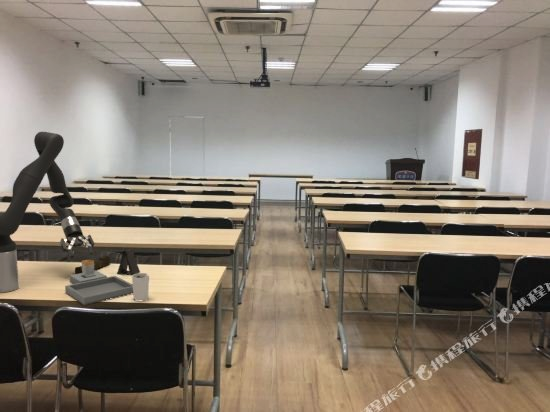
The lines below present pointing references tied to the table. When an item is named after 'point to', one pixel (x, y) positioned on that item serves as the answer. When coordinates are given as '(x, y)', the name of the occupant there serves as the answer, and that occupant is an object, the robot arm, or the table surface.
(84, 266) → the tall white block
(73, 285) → the tray
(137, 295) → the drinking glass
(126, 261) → the black a-frame stand
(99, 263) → the hand tool
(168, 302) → the table surface
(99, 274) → the socket block
